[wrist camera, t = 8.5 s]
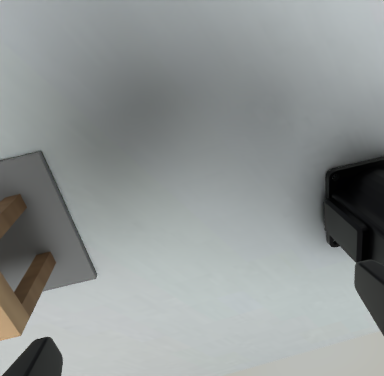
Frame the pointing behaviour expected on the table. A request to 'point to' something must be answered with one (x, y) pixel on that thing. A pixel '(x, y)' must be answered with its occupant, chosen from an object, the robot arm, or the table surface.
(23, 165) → the mat
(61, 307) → the table surface
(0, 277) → the stool
